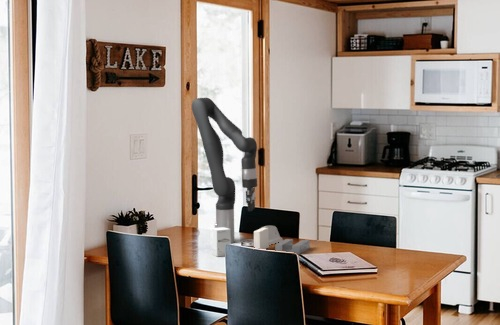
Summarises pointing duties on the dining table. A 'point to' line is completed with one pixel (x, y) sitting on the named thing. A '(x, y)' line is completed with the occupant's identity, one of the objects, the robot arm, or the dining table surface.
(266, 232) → the door panel
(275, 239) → the hinge
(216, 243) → the supplement box
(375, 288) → the dining table surface
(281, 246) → the door track
